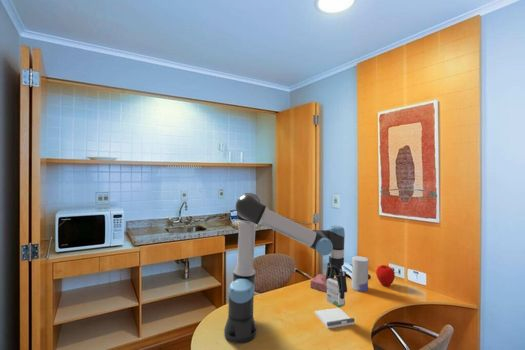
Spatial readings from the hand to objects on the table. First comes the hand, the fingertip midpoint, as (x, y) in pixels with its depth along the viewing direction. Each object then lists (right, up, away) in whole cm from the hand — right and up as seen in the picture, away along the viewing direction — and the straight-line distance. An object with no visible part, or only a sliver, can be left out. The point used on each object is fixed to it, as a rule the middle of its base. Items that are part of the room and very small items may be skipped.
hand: (335, 299), depth 137 cm
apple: (+45, -11, +42) cm, 63 cm away
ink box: (0, -2, 0) cm, 2 cm away
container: (+26, -11, +37) cm, 46 cm away
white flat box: (-1, -11, +1) cm, 11 cm away
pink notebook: (+4, -10, +38) cm, 40 cm away
